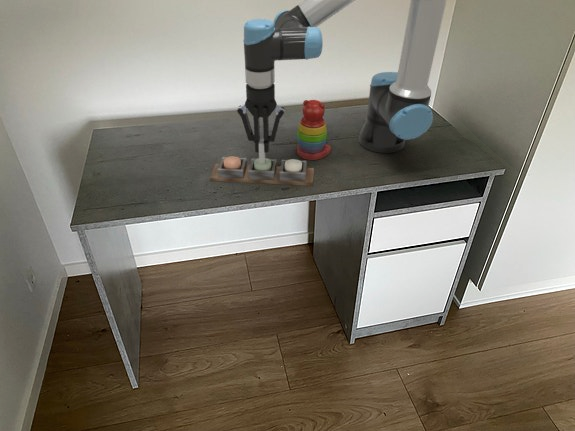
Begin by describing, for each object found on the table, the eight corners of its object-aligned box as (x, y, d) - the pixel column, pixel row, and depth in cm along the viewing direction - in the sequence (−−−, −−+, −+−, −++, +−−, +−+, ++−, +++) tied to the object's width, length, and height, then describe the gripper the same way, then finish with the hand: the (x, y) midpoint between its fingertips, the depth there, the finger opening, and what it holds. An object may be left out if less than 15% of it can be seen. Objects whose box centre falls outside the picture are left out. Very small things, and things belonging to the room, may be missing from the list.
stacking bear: (333, 149, 153) (337, 97, 142) (321, 163, 145) (324, 110, 134) (302, 142, 156) (304, 91, 145) (289, 156, 149) (290, 103, 138)
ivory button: (302, 168, 140) (302, 159, 138) (301, 177, 136) (301, 168, 134) (285, 167, 140) (285, 158, 138) (284, 176, 136) (284, 167, 134)
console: (313, 170, 142) (314, 160, 140) (312, 185, 136) (313, 175, 133) (215, 166, 144) (214, 156, 141) (210, 180, 137) (209, 170, 135)
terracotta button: (242, 165, 141) (241, 156, 139) (239, 174, 137) (239, 165, 135) (225, 164, 141) (225, 155, 139) (222, 173, 137) (222, 164, 135)
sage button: (272, 166, 140) (272, 158, 139) (270, 175, 136) (270, 167, 135) (255, 165, 141) (255, 157, 139) (253, 174, 137) (252, 166, 135)
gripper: (286, 78, 125) (285, 155, 139) (237, 77, 126) (242, 153, 140) (283, 90, 119) (283, 169, 133) (233, 88, 120) (238, 167, 134)
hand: (262, 161), depth 137 cm, fingers closed
